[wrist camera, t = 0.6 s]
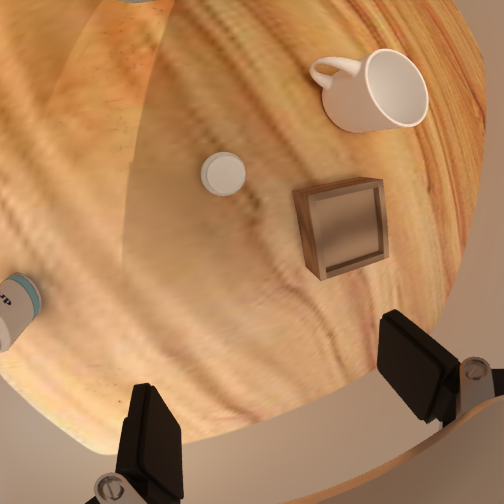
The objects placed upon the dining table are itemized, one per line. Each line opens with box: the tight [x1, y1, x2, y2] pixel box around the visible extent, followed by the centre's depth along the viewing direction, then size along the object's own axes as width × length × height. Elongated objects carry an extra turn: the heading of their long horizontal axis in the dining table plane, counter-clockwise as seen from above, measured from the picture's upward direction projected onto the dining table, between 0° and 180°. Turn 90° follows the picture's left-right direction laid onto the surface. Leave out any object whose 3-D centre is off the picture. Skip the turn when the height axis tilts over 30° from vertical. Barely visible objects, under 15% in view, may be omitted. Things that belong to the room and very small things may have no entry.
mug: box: [309, 49, 428, 133], centre depth 25 cm, size 9×12×11 cm
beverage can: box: [0, 273, 41, 352], centre depth 24 cm, size 7×7×12 cm
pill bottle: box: [201, 152, 246, 196], centre depth 27 cm, size 4×4×8 cm
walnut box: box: [292, 177, 389, 281], centre depth 33 cm, size 10×10×5 cm
